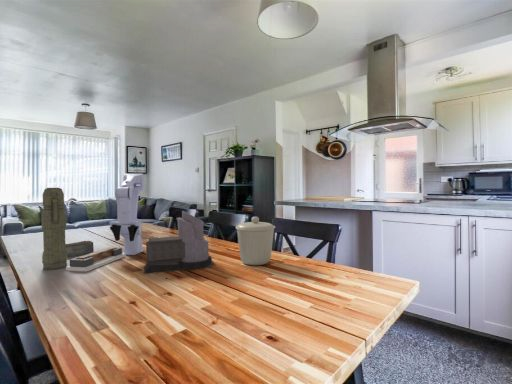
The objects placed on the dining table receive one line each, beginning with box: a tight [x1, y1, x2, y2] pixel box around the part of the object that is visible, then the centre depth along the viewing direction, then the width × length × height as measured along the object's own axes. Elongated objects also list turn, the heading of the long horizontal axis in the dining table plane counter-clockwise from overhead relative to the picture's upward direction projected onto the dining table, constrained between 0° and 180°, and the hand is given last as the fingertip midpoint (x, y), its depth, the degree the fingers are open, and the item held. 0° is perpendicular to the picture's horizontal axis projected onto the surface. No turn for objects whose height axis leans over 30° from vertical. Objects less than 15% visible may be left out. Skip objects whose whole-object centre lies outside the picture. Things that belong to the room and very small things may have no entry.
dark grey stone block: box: [65, 240, 95, 258], centre depth 145 cm, size 8×19×7 cm, turn 134°
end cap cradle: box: [65, 247, 126, 272], centre depth 130 cm, size 25×10×4 cm, turn 169°
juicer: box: [143, 210, 215, 275], centre depth 124 cm, size 30×16×24 cm, turn 111°
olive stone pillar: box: [40, 187, 68, 271], centre depth 124 cm, size 9×12×35 cm
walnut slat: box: [77, 246, 117, 262], centre depth 130 cm, size 20×3×4 cm, turn 169°
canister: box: [235, 216, 276, 266], centre depth 128 cm, size 18×18×21 cm
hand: (124, 240), depth 134 cm, fingers open, 7 cm apart
